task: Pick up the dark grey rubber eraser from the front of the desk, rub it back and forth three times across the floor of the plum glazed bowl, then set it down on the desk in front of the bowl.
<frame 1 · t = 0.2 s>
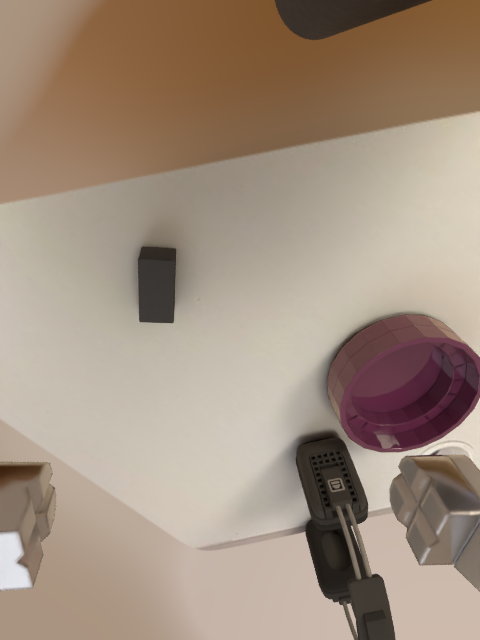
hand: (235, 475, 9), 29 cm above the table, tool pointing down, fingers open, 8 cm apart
bowl: (391, 370, 46), on the table
headphones: (321, 487, 55), on the table
eraser: (158, 278, 37), on the table
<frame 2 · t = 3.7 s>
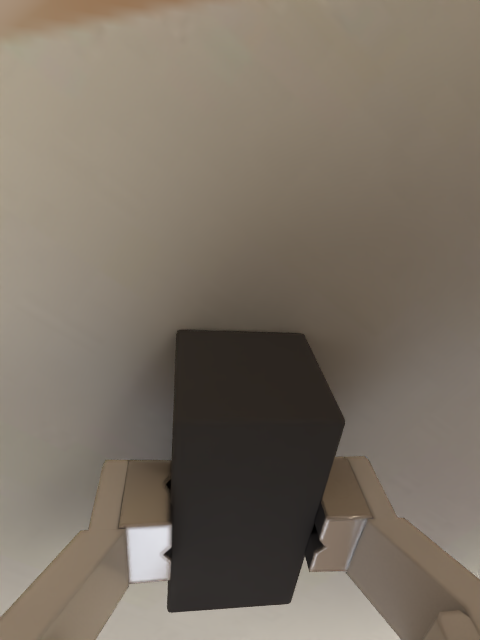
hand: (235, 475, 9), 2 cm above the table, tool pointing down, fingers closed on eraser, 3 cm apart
eraser: (230, 426, 11), on the table, touching gripper
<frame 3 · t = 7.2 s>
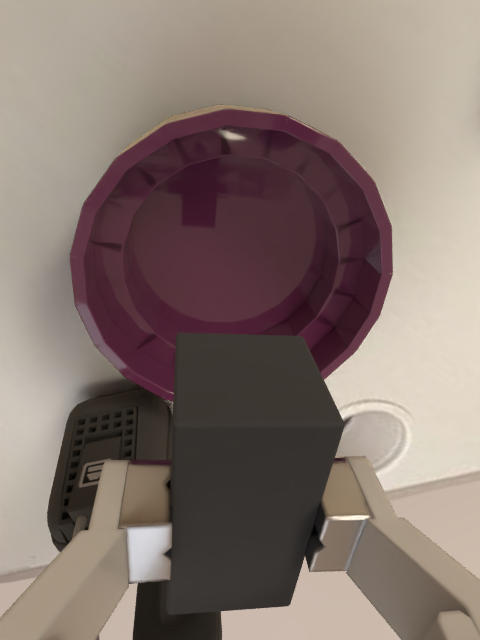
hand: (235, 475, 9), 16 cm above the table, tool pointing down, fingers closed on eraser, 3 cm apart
bowl: (228, 252, 24), on the table
headphones: (158, 481, 33), on the table
eraser: (229, 428, 11), point 15 cm above the table, touching gripper
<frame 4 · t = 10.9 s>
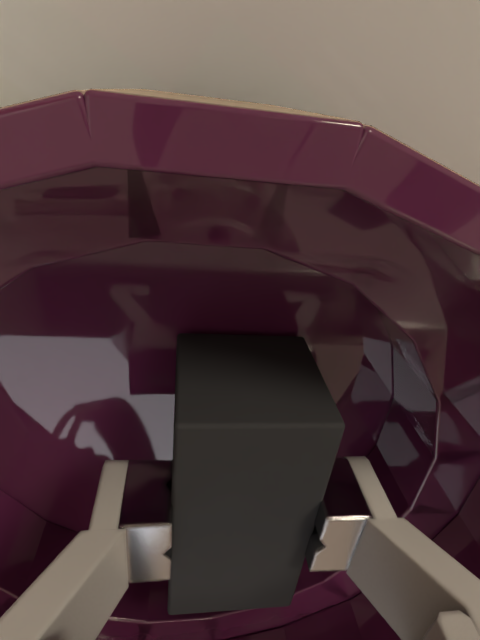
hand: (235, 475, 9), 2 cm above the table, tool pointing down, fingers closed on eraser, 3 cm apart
bowl: (187, 404, 11), on the table
eraser: (230, 429, 11), point 1 cm above the table, touching gripper
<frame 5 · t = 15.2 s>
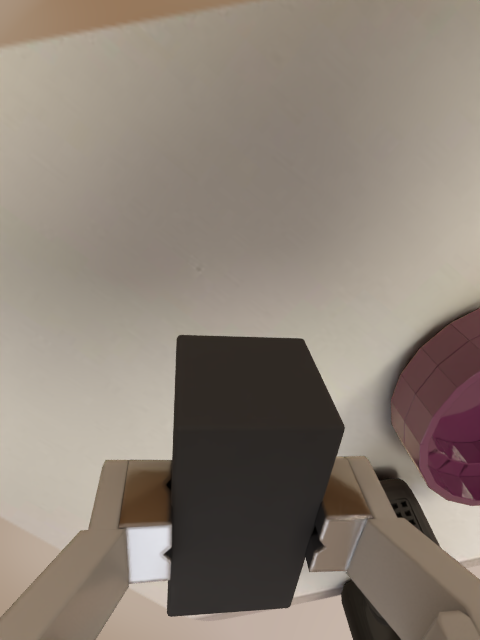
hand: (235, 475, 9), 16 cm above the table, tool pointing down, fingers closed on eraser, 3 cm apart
headphones: (366, 541, 40), on the table
eraser: (230, 430, 11), point 14 cm above the table, touching gripper
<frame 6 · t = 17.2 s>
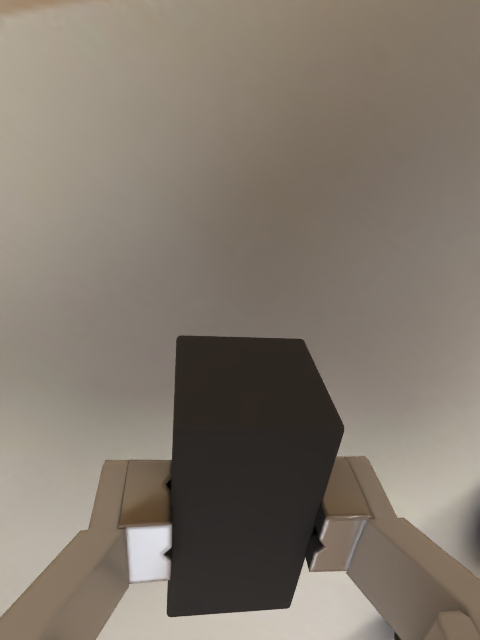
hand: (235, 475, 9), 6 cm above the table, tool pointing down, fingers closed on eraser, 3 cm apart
eraser: (229, 431, 11), point 5 cm above the table, touching gripper
when the fingers open (1 cm above the table, at t = 18.6 s): eraser stays where it is, on the table.
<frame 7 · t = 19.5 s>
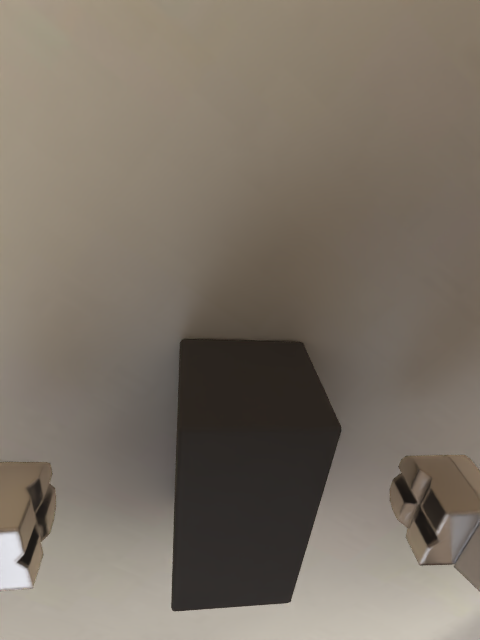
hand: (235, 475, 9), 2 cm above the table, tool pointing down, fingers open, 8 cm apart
eraser: (231, 431, 11), on the table
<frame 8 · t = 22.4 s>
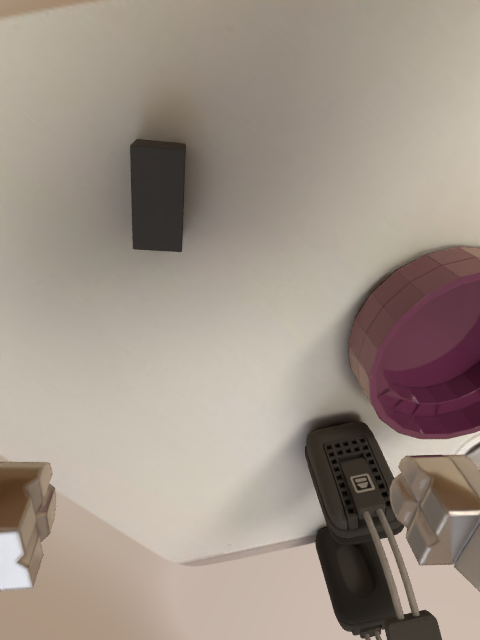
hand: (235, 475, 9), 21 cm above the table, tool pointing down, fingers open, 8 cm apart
bowl: (433, 330, 35), on the table
headphones: (336, 487, 44), on the table
eraser: (160, 191, 26), on the table
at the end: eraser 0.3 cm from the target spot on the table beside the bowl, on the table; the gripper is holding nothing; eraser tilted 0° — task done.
